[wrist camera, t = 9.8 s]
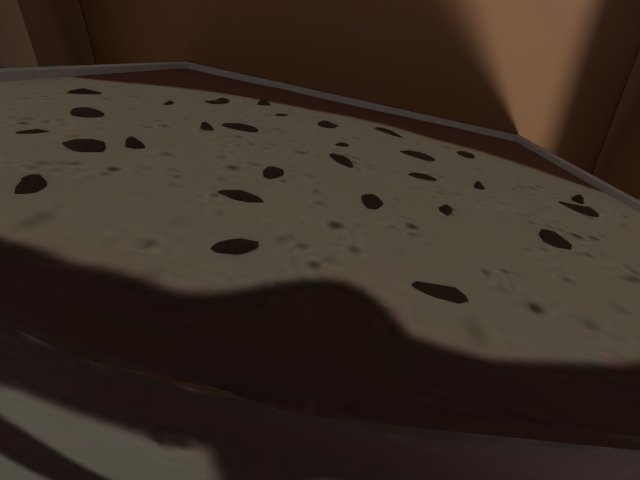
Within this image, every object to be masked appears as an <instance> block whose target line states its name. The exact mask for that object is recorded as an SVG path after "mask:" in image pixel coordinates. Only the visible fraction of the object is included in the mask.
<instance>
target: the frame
mask: <svg viewBox="0 0 640 480" xmlns="http://www.w3.org/2000/svg"><path fill="white" fill-rule="evenodd" d="M0 65H1V67H2V68H23V67H49V66H74V65H96V63H95V60H94V56H93V52H92V48H91V44H90V40H89V36H88V33H87V29H86V25H85V21H84V17H83V13H82V9H81V6H80V2H79V0H0ZM592 175H593V176H595V177H597V178H599V179H601V180H603V181H604V182H606V183H608V184H610V185H612V186H614V187H615V188H617V189H619V190H621V191H623V192H625V193H626V194H628V195H630V196H632V197H634V198H636V199H637V200H639V201H640V49H639V51H638V54H637V57H636V59H635V62H634V65H633V67H632V70H631V73H630V75H629V78H628V81H627V83H626V86H625V89H624V91H623V94H622V97H621V99H620V102H619V105H618V107H617V110H616V113H615V115H614V118H613V121H612V123H611V126H610V129H609V131H608V134H607V137H606V139H605V142H604V145H603V147H602V150H601V153H600V155H599V158H598V161H597V163H596V166H595V169H594V171H593V174H592Z"/></svg>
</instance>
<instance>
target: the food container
mask: <svg viewBox="0 0 640 480" xmlns="http://www.w3.org/2000/svg"><path fill="white" fill-rule="evenodd" d="M0 480H640V201H639V200H637V199H636V198H634V197H632V196H630V195H628V194H626V193H625V192H623V191H621V190H619V189H617V188H615V187H614V186H612V185H610V184H608V183H606V182H604V181H603V180H601V179H599V178H597V177H595V176H593V175H592V174H590V173H588V172H586V171H584V170H582V169H580V168H579V167H577V166H575V165H573V164H571V163H569V162H568V161H566V160H564V159H562V158H560V157H558V156H557V155H555V154H553V153H551V152H549V151H547V150H546V149H544V148H542V147H540V146H538V145H536V144H534V143H533V142H531V141H529V140H527V139H525V138H523V137H522V136H519V135H515V134H510V133H506V132H501V131H497V130H492V129H488V128H483V127H479V126H474V125H470V124H465V123H461V122H456V121H452V120H447V119H443V118H438V117H434V116H429V115H425V114H420V113H416V112H411V111H407V110H402V109H398V108H393V107H389V106H384V105H380V104H375V103H371V102H366V101H362V100H357V99H353V98H348V97H344V96H339V95H334V94H330V93H325V92H321V91H316V90H312V89H307V88H303V87H298V86H294V85H289V84H285V83H280V82H276V81H271V80H267V79H262V78H258V77H253V76H249V75H244V74H240V73H235V72H231V71H226V70H222V69H217V68H213V67H208V66H204V65H199V64H195V63H190V62H186V61H178V62H152V63H126V64H100V65H74V66H49V67H23V68H0Z"/></svg>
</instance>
